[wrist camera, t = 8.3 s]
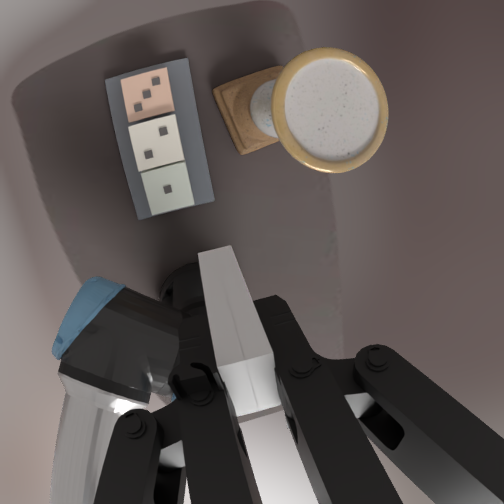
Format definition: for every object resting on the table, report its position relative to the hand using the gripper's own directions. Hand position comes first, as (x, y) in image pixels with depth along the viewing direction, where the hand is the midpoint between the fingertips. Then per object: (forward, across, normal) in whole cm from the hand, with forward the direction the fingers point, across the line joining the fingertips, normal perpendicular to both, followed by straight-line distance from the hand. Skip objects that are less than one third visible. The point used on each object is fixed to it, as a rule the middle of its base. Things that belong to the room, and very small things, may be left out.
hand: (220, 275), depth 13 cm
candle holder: (+33, -11, -6) cm, 35 cm away
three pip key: (+31, +4, -11) cm, 33 cm away
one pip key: (+31, +4, +2) cm, 31 cm away
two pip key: (+29, +4, -4) cm, 30 cm away
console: (+32, +4, -4) cm, 33 cm away
